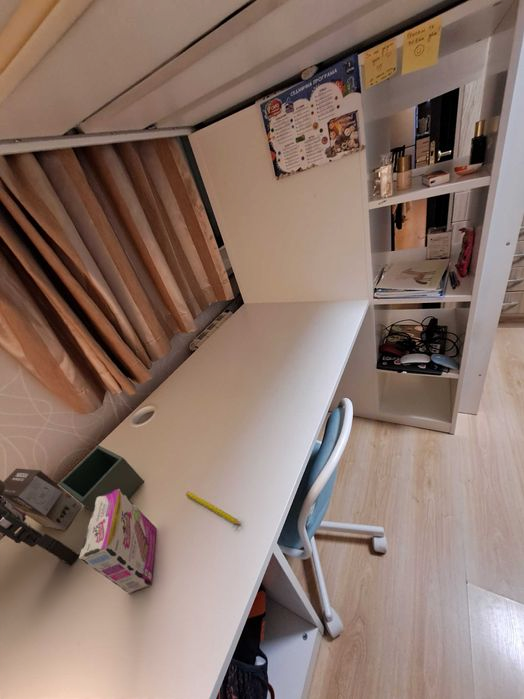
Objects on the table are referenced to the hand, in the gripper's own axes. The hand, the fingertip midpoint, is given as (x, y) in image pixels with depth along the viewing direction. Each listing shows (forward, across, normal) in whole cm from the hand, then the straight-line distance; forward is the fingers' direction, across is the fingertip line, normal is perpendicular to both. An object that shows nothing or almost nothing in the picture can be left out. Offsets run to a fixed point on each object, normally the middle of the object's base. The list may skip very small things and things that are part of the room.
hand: (29, 531), depth 58 cm
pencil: (+13, +26, +22) cm, 36 cm away
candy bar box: (+13, +18, +8) cm, 24 cm away
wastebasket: (+13, -3, +14) cm, 20 cm away
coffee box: (+13, -13, +4) cm, 19 cm away
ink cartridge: (+13, 0, 0) cm, 13 cm away
